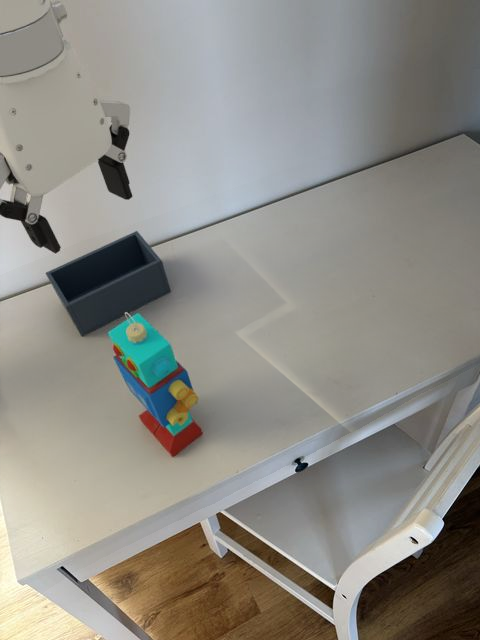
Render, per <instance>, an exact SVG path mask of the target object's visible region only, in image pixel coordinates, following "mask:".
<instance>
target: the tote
mask: <svg viewBox="0 0 480 640" xmlns="http://www.w3.org/2000/svg"><path fill="white" fill-rule="evenodd" d="M165 270H166V269H165V267H164V263H163V260H162V259H161V258H160V257H159V256H158V254H157V253H156V251H155V250H154V249H153V248H152V247H151V246H150V244H149V243H148V242H147V241H146V240H145V238H143V236H142V235H141V234H140V232H139V231H138V230H135V231H133V232H132V233H129V234H126V235H124V236H123V237H120V238H118V239H116V240H114V241H111V242H109V243H107V244H105V245H103V246H100V247H99V248H96V249H94V250H92V251H90V252H88V253H86V254H83V255H82V256H79V257H77V258H75V259H73V260H70V261H68V262H66V263H64V264H62V265H60V266H57V267H55V268H53V269H50V270H49V271H46V272H45V275H46V277H47V278H48V280H49V283H50V285H51V286H52V288H53V290H54V292H55V293H56V295H57V298H58V299H59V301H60V302H61V305H62V307H63V308H64V309H65V311H66V313H67V314H68V316H69V318H70V319H71V321H72V323H73V324H74V326H75V328H76V329H77V331H78V333H79V334H80V336H81V337H85V336H86V335H88V334H90V333H92V332H94V331H96V330H99V329H100V328H102V327H104V326H106V325H108V324H110V323H112V322H115V321H116V320H118V319H120V318H122V317H125V312H127V313H128V314H130V313H132V312H134V311H136V310H138V309H140V308H142V307H143V306H145V305H147V304H149V303H151V302H154V301H155V300H158V299H159V298H162V297H163V296H165V295H167V294H169V293H171V292H172V289H171V286H170V284H169V279H168V277H167V274H166V271H165ZM127 313H126V315H128V314H127Z"/></svg>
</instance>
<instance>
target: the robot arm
mask: <svg viewBox="0 0 480 640" xmlns="http://www.w3.org/2000/svg"><path fill="white" fill-rule="evenodd" d="M67 18H68V13H67V9H66V8H65V6H64V4H63V3H62V2H61V1H59V0H55V1H53V2H52V1H51V0H0V190H1V189H2V187H3V186H4V184H5V183H6V184H7V185H12V187H11V192H10V199H9V200H6V199H2V198H0V216H1V217H3V218H4V219H9V220H14V221H19V222H20V223H21V224H22V226H23V228H24V230H25V232H26V234H27V235H28V237H29V239H30V241H31V242H32V244H34V246H36V247H37V248H39V249H41V248H45V249H47V250H48V251H50V252H52V253H54V254H58V253H59V252H61V249H62V247H61V244H60V243H59V241H58V239H57V237H56V235H55V233H54V230H53V229H52V227H51V225H50V222H49V220H48V219H47V217H45V216H43V215H41V214H40V213H41V209H42V203H43V199H44V195H46V194H48V193H50V192H52V191H53V190H55V189H57V187H59V186H61V185H62V184H64V183H66V182H67V181H68V180H70V179H72V178H73V177H74V176H76V175H77V174H79V173H80V172H81V171H83V170H85V169H86V168H88V167H89V166H91V165H92V164H93V163H95V162H97V164H98V166H99V169H100V172H101V175H102V177H103V181H104V183H105V187H106V189H107V191H108V192H109V193H111V194H112V195H115V196H117V197H119V198H121V199H123V200H125V201H126V200H127V201H130V199H132V198H133V193H132V189H131V187H130V179H129V176H128V173H127V170H126V166H125V164H124V162H126V160H127V158H128V157H127V156H128V155H127V151H125V150H126V147H127V144H128V140H129V138H130V129H129V128H128V127H129V125H130V116H131V115H130V113H131V107H130V105H129V104H128V103H125V102H122V101H119V100H108V99H107V100H105V99H99V96H98V94H97V92H96V90H95V87H94V85H93V83H92V81H91V78H90V77H89V75H88V73H87V70H86V69H85V67H84V64H83V63H82V61H81V59H80V57H79V56H78V54H77V52H76V50H75V49H74V47H73V46H72V44H71V42H69V41H68V40H66V39H63V38H64V35H63V31H62V28H61V26H60V24H61V23H62V21H64V20H66V19H67ZM107 118H110V123H111V125H110V126H109V123H108V121H107V120H108V119H107Z"/></svg>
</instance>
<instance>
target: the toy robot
mask: <svg viewBox="0 0 480 640" xmlns="http://www.w3.org/2000/svg"><path fill="white" fill-rule="evenodd" d="M126 313H127V312H125V315H124V317H125V318H126V320H125V321H123V322H121V323H120V324H118V325H117V326H115V327H114V328H111V330H109V331H108V332H107V334H108V335H109V338H110V340H111V342H112V344H113V346H112V350H113V352H114V354H115V355H114V356H113V357H112V358H113V360H114V362H115V364H116V366H117V368H118V370H119V371H120V374H121V376H122V378H123V381H124V382H125V384H126V387H127V389H128V390H129V391H130V393H131V394H132V395H133V396H134V397H135V398H136V399H137V400H138V401H139V403H141V405H142V406H143V407H144V408H145V409H146V410H144V411H142V413H140V414H139V415H138V417H139V420H140V421H141V423H142V424H143V425H144V426H145V427H146V428H147V430H148V431H149V432H150V433H151V434H152V435H153V437H154V438H155V439H156V440H157V441H158V443H160V444H161V446H162V447H163V448H164V449H165V450H166V451H167V452H168V453H169V455H170V457H172V458H174V457H175V456H177V455H178V454H179V453H180V452H181V451H183V450H184V449H185V448H187V447H188V446H189V445H190V444H192V443H193V442H194V441H195V440H197V439H198V438H200V437H201V436H202V435H203V430H202V428H201V426H200V425H199V424H198V423H197V422H196V421H195V420H194V419H193V418H192V416H191V413H190V412H191V411H190V410H191V408H193V407H194V406H195V405H197V404H198V401H199V395H198V394H197V393H196V392H195V391H194V388H193V385H192V382H191V379H190V377H189V372H188V371H187V369H186V368H185V367H183V366H182V365H181V363H179V362H178V361H177V359H176V357H175V354H174V351H173V348H172V345H171V343H170V342H169V341H168V340H167V338H165V337H164V336H163V335H162V334H161V333H160V332H159V331H158V330H157V329H156V328H155V327H154V326H153V325H152V324H150V322H148V320H146V319H145V317H143V315H141V314H140V313H139V312H137V313H135V314H133V315H131V314H130V313H127V314H126ZM127 315H128V316H129V317H128V316H127Z"/></svg>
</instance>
